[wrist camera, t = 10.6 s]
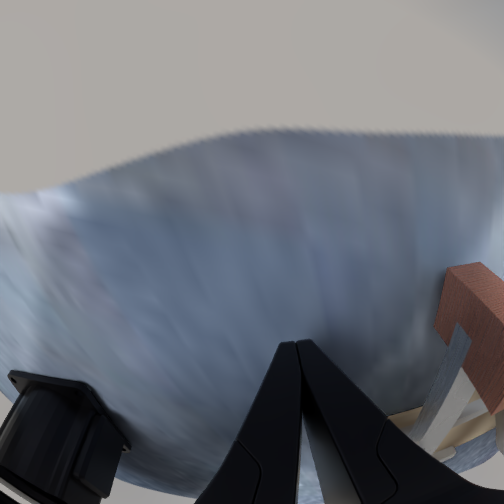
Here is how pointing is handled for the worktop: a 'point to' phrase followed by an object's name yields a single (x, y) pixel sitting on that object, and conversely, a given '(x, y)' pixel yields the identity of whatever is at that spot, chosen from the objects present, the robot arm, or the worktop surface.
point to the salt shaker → (500, 430)
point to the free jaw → (465, 352)
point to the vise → (465, 428)
